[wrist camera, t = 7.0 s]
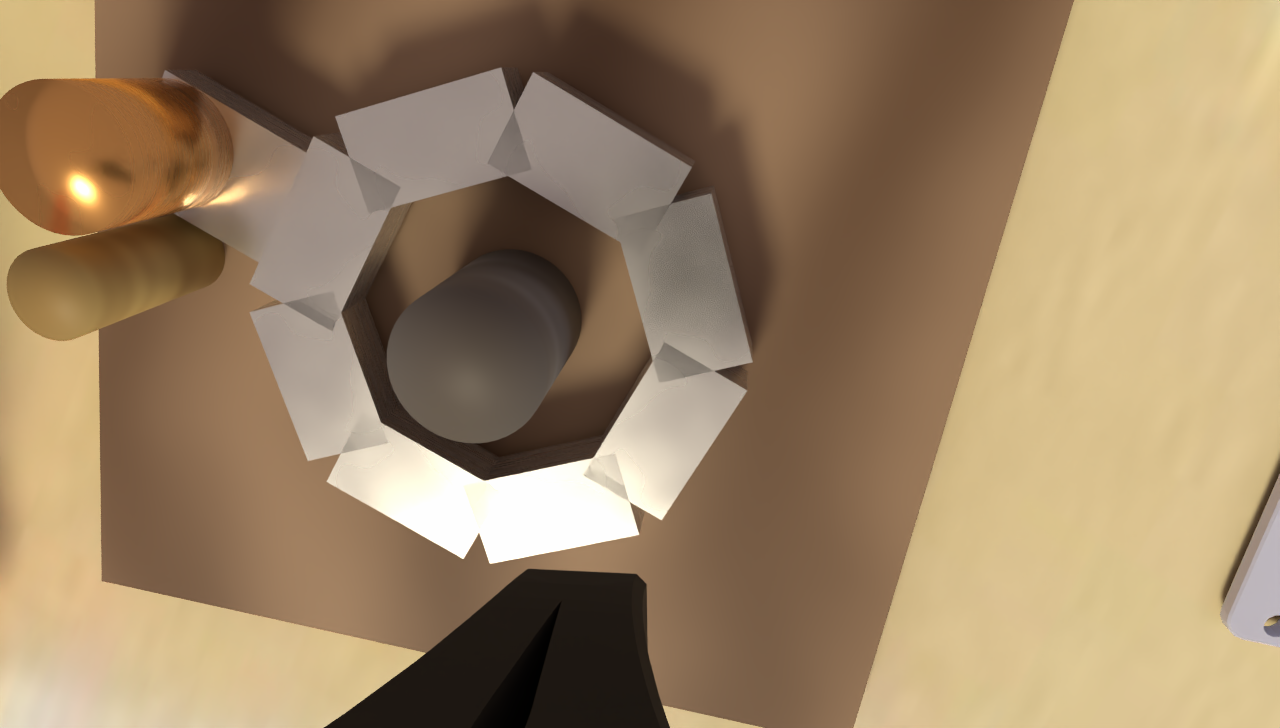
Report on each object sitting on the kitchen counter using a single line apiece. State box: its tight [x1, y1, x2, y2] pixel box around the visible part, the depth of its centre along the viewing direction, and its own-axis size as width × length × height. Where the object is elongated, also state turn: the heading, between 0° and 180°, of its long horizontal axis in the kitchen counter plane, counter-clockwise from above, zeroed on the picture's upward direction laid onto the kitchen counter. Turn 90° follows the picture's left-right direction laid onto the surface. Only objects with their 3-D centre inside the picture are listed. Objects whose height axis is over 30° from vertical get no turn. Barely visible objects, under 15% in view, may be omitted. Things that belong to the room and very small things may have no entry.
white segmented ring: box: [0, 67, 753, 563], centre depth 17 cm, size 13×9×4 cm
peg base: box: [7, 0, 1074, 728], centre depth 18 cm, size 18×17×5 cm
